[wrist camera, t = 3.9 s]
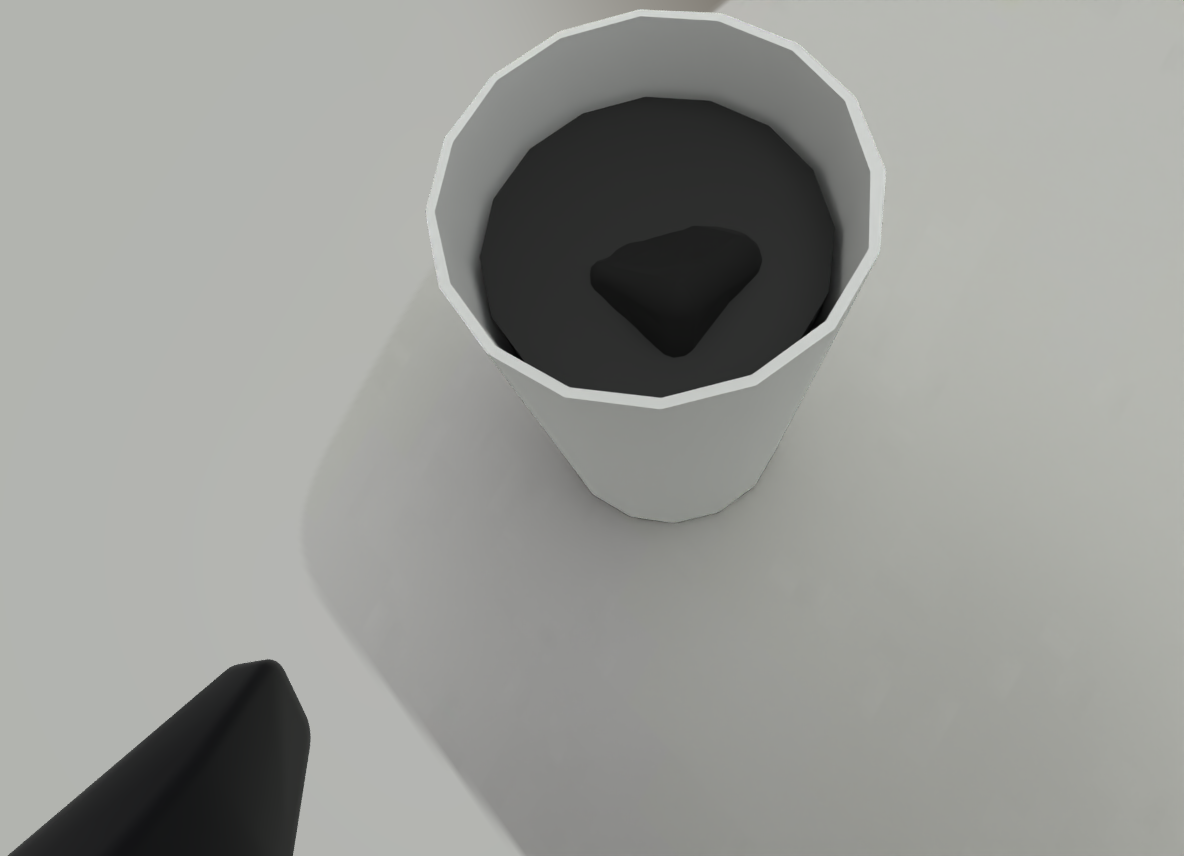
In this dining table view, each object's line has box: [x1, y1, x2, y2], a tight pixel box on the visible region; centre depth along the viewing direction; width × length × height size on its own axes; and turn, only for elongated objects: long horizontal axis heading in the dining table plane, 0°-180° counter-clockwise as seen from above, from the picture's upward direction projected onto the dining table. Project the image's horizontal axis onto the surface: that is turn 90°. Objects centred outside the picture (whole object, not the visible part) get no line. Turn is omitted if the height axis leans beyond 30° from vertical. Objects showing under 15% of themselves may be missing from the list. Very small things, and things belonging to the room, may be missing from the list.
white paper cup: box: [425, 10, 886, 523], centre depth 16 cm, size 7×7×10 cm
